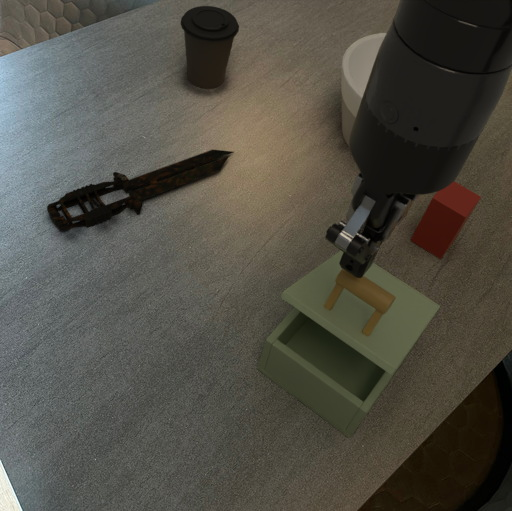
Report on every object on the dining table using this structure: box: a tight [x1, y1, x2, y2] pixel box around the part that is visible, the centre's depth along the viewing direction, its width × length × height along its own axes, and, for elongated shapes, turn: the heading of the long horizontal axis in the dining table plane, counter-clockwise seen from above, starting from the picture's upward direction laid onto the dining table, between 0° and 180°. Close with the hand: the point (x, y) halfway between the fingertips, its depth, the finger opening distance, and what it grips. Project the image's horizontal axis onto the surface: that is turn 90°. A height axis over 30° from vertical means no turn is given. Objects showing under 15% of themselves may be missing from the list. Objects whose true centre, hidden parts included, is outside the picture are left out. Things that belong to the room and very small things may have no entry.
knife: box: [46, 149, 235, 232], centre depth 78 cm, size 25×6×1 cm, turn 118°
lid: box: [280, 250, 441, 376], centre depth 59 cm, size 15×12×5 cm
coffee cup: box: [180, 5, 240, 90], centre depth 89 cm, size 8×8×10 cm
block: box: [410, 180, 482, 260], centre depth 76 cm, size 4×4×8 cm
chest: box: [257, 307, 431, 439], centre depth 65 cm, size 15×12×6 cm
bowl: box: [340, 32, 387, 148], centre depth 86 cm, size 19×19×11 cm
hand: (354, 267), depth 52 cm, fingers closed
